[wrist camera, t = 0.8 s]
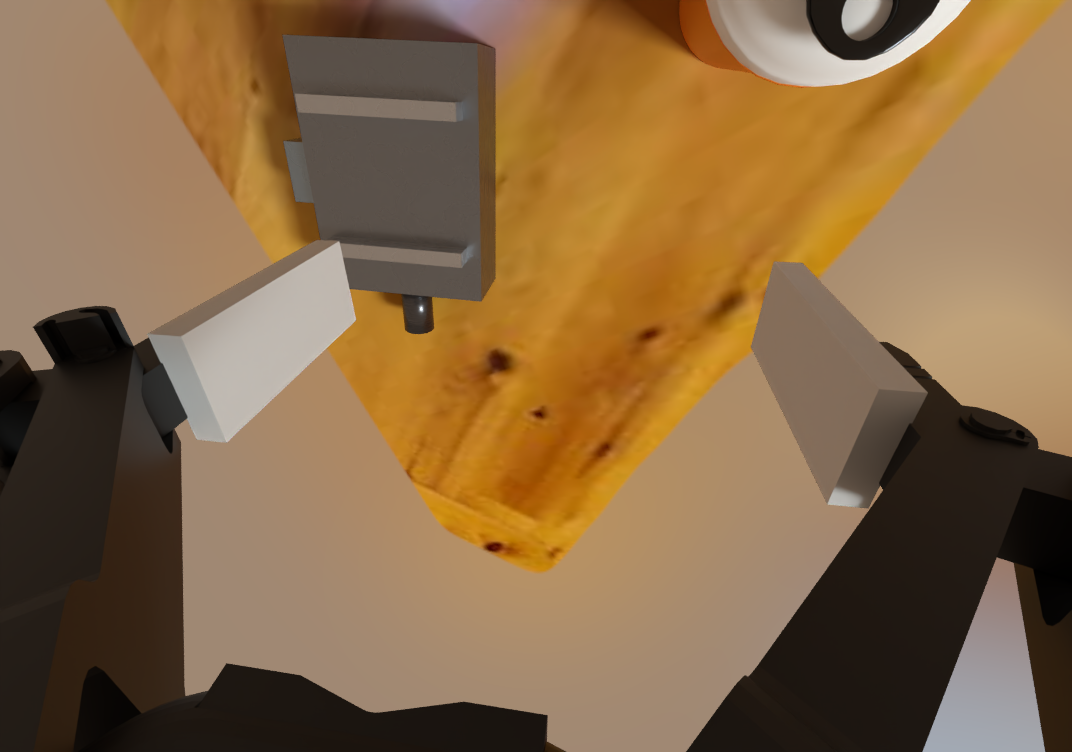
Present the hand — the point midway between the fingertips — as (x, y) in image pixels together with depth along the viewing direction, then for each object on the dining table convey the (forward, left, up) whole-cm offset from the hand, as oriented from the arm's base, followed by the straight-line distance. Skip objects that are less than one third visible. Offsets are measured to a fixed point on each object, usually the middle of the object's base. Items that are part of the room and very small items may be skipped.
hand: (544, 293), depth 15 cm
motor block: (+3, -14, -24) cm, 28 cm away
